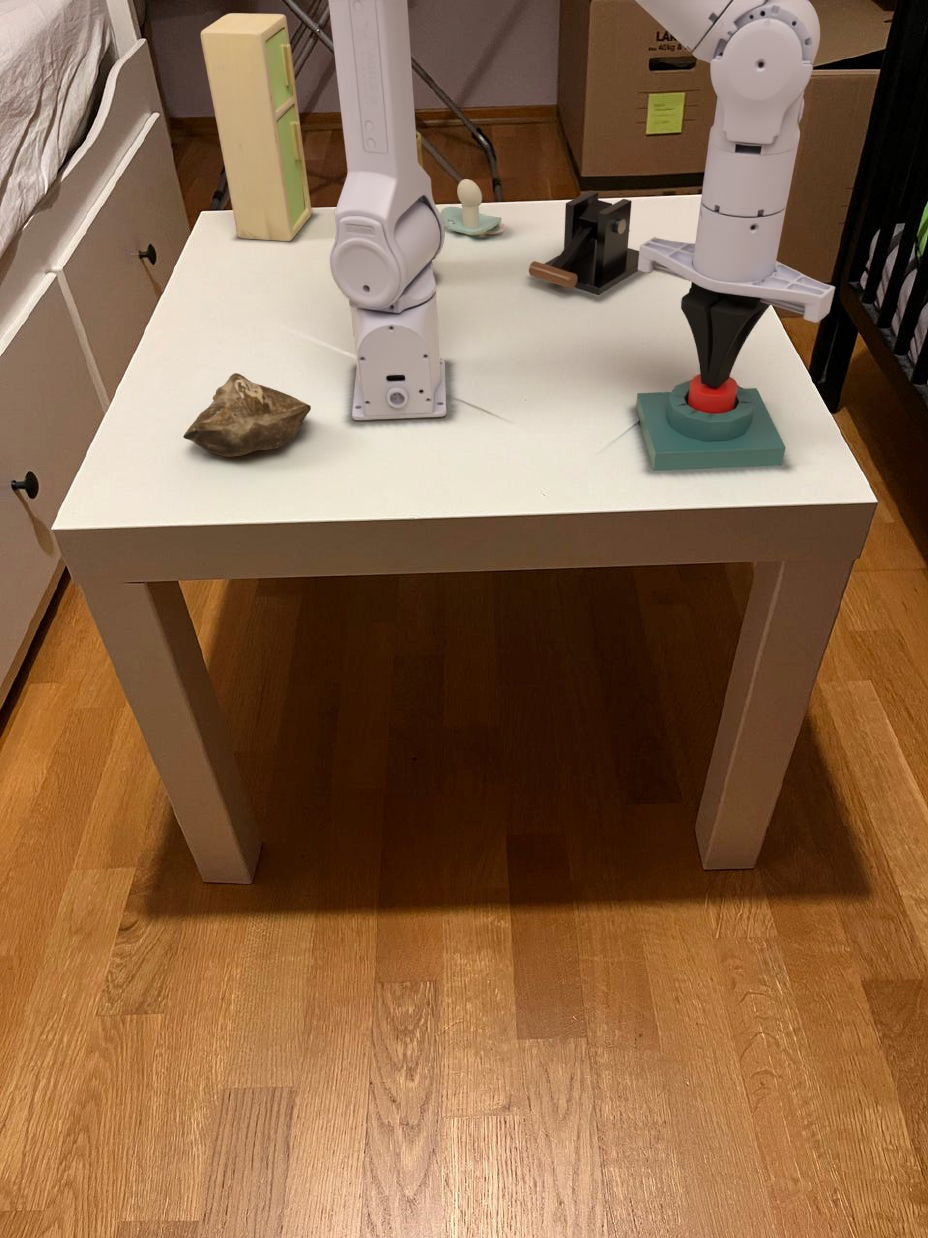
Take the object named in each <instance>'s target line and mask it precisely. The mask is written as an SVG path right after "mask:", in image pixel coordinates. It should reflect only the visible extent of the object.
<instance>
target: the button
mask: <svg viewBox="0 0 928 1238" xmlns="http://www.w3.org/2000/svg"><path fill="white" fill-rule="evenodd" d="M690 380H691V383H690V390H689V397H688V404H689V406H690V407H692V408H693V409H695V410H697V411H701V412H705V413H710V414H718V413H726V412H729V411H731V410H732V409H733V408H734V404H735V399H736V393H737V388H738V385H739V384H738V383H737V381H736V380H735V378H733V377H731V375H730V376H729V379H728V380H726V381H725V382H724V383H723V384H721V385H720V386H719V387H718V388H713V387H710V386H707V385H705V384H702V383H701V376H700V373H698V374H697V375H694V376H693V377H692V378H691V379H690Z"/></svg>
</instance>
